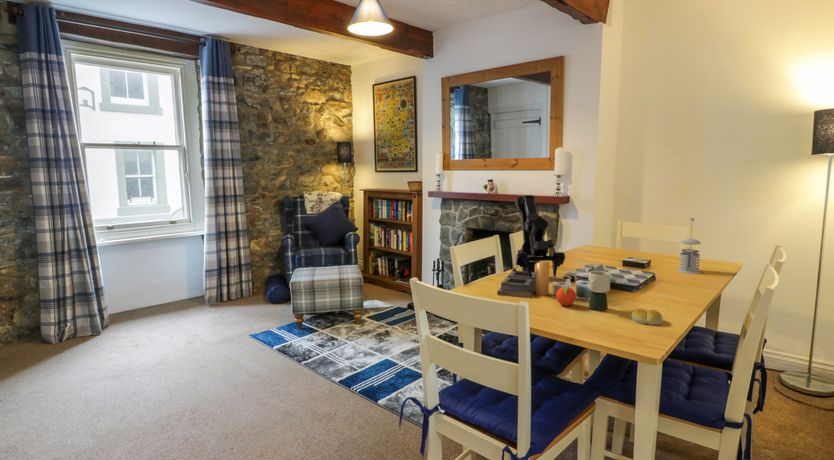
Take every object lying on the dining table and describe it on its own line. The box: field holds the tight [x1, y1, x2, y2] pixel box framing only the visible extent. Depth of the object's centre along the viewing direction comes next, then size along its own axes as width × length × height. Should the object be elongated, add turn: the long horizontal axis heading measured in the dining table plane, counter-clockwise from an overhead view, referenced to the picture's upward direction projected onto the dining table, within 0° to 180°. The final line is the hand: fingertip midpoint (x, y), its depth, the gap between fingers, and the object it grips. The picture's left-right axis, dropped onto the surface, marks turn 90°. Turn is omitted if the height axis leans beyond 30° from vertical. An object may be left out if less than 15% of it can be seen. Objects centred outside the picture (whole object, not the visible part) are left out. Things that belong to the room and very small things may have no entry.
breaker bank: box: [496, 268, 536, 299], centre depth 193 cm, size 25×13×6 cm, turn 157°
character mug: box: [587, 270, 611, 311], centre depth 163 cm, size 11×7×13 cm, turn 134°
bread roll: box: [631, 308, 663, 326], centre depth 150 cm, size 8×9×4 cm
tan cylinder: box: [535, 261, 550, 297], centre depth 183 cm, size 5×5×12 cm
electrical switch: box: [587, 263, 605, 275], centre depth 192 cm, size 9×5×9 cm, turn 141°
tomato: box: [555, 285, 577, 307], centre depth 168 cm, size 8×7×7 cm
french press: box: [676, 217, 702, 275], centre depth 213 cm, size 10×12×25 cm
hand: (543, 276), depth 182 cm, fingers open, 9 cm apart
